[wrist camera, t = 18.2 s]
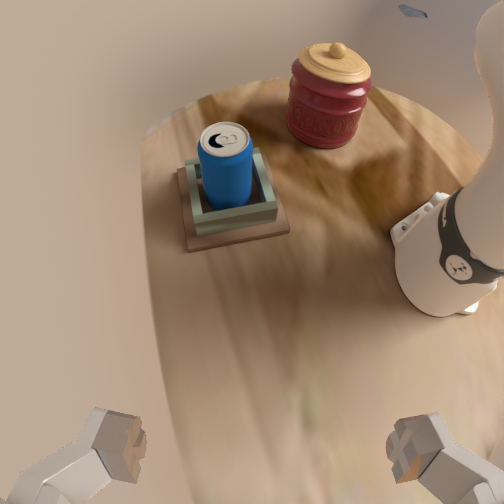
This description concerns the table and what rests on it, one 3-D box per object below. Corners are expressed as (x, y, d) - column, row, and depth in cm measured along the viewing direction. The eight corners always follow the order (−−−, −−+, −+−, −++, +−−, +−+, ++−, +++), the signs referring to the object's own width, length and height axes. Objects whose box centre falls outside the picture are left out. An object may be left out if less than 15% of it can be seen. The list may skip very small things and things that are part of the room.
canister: (366, 146, 52) (397, 68, 36) (298, 155, 51) (316, 67, 35) (336, 100, 58) (356, 27, 41) (275, 106, 56) (283, 25, 40)
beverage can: (203, 182, 47) (193, 124, 36) (245, 175, 47) (246, 116, 37) (209, 219, 44) (199, 163, 33) (255, 211, 45) (258, 153, 34)
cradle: (177, 172, 49) (173, 154, 45) (264, 157, 50) (266, 138, 46) (189, 252, 43) (183, 237, 39) (289, 232, 45) (293, 216, 41)
